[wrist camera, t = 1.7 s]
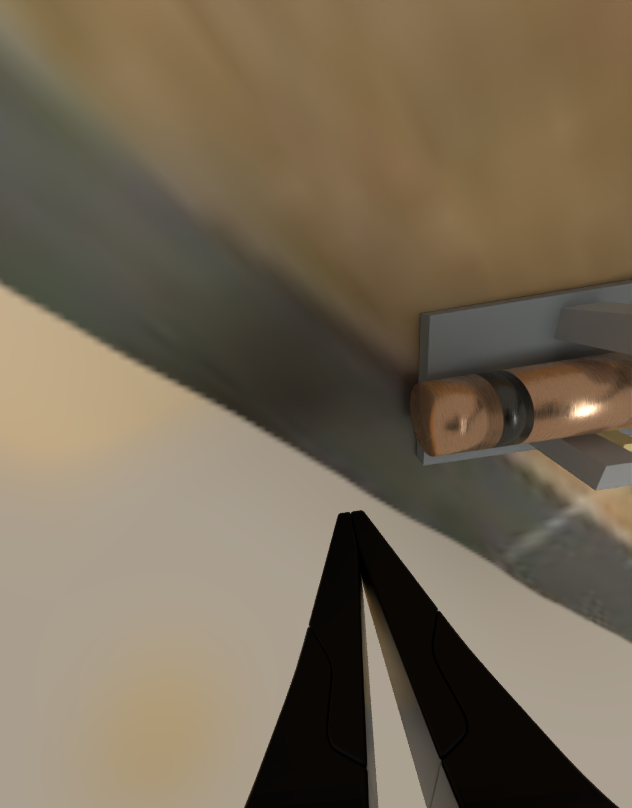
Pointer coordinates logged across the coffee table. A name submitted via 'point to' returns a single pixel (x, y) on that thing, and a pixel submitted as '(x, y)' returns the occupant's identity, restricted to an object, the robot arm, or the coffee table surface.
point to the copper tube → (523, 404)
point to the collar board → (537, 362)
